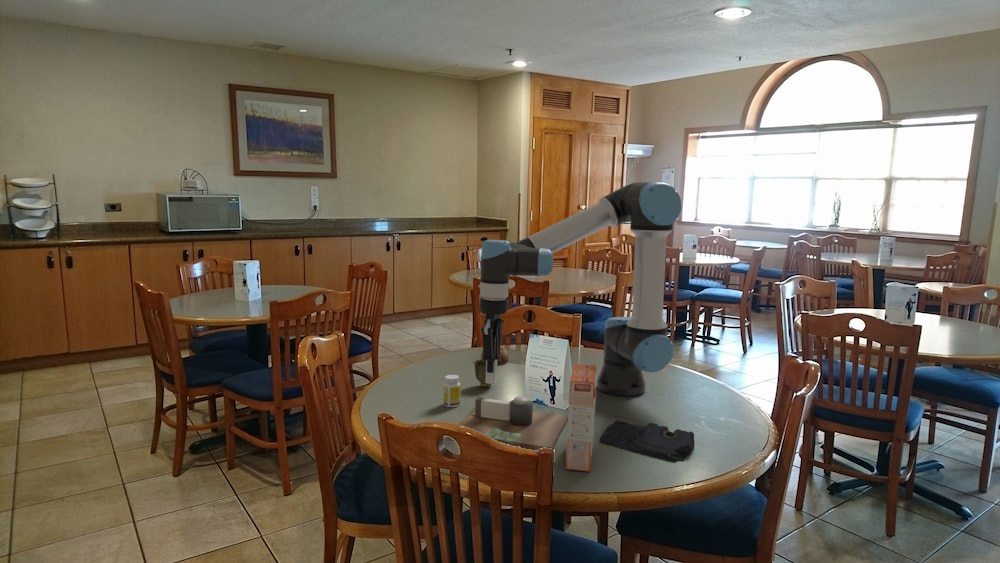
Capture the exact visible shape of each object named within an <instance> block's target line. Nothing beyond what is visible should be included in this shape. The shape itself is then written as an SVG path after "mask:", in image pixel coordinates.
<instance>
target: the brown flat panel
mask: <svg viewBox="0 0 1000 563" xmlns="http://www.w3.org/2000/svg"><path fill="white" fill-rule="evenodd" d="M458 424H459V425H461V426H465V427H469V428H471V429H474V430H476V431H479V432H481V433H483V434H485V435H487V436H489V437H491V438H493V439H495V440H497V441H499V442H502V443H505V444H509V445H513V446H520V447H525V448H524V449H526V448H529V449H528V450H532V449H539V448H543V447H547V448H553V449H554V448H555V447H556V444H557V442H558V441H559V438H560V436H561V434H562V432H563V431H564V428H565V427H566V425H567V424H568V414H567V415H566V414H561V413H560V414H558V413H553V412H552V413H550V412H546V411H545V412H543V411H536V410H533V415H532V423H531V424H528V425H515V424H512V423H511V422H510V419H509V420H508V421H506V420H499V419H491V418H484V417H476V416H475V407H473V409H472V410H470V412H468V413H467V415H466V416H465V417H464V418H463V419H462V420H461V421H460V422H459V423H458Z"/></svg>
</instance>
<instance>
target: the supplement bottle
mask: <svg viewBox="0 0 1000 563" xmlns="http://www.w3.org/2000/svg"><path fill="white" fill-rule="evenodd" d="M460 405H461V383H460V376H459V375H457V374H448V375H445V377H444V383H443V406H445V407H448V408H457V407H459V406H460Z"/></svg>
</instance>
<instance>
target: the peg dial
mask: <svg viewBox="0 0 1000 563" xmlns="http://www.w3.org/2000/svg"><path fill="white" fill-rule="evenodd" d="M474 402H475V404H474V405H475V406H474V408H475V416H476V417H484V418H491V419H499V420H506V421H508V420H509V419H510V422H511V423H512V424H515V425H528V424H531V423H532V415H533V411H534V406H533V405H534V403H533V401H532V400H530V398H528V397H526V396H516V397H514V398H513V399H512V400H510V401H509V400H500V399H493V398H484V397H481V396H477V398H476V399H475V401H474Z"/></svg>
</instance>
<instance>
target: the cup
mask: <svg viewBox="0 0 1000 563" xmlns="http://www.w3.org/2000/svg"><path fill="white" fill-rule="evenodd" d="M498 365H499V364H498V363H497V366H498ZM474 372H475V378H476V380H477V381H478V382H479V385H480V387H481V388H484V387H485V388H486V387H488V388H491V386H492V384H489V383H485V382H486V360H484V362H483V360H482V359H481V360H479V359H476V360H475V361H474ZM485 388H484V389H485Z"/></svg>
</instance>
